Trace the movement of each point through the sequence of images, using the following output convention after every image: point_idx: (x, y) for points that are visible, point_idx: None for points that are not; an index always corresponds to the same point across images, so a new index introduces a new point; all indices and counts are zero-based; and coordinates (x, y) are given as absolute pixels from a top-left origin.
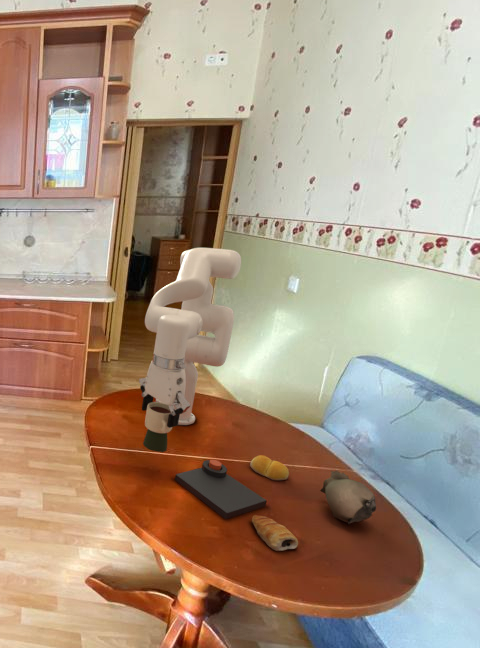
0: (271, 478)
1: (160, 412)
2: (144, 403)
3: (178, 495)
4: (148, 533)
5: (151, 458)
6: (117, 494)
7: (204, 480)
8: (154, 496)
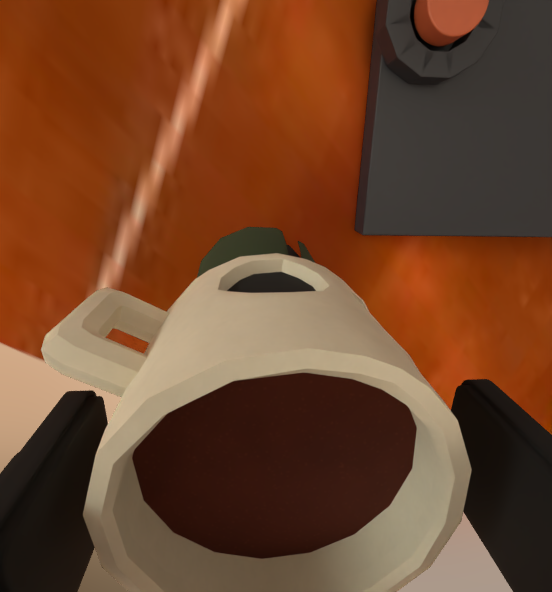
0: None
1: (291, 470)
2: (75, 583)
3: (419, 285)
4: None
5: (202, 206)
6: None
7: (449, 145)
8: None
